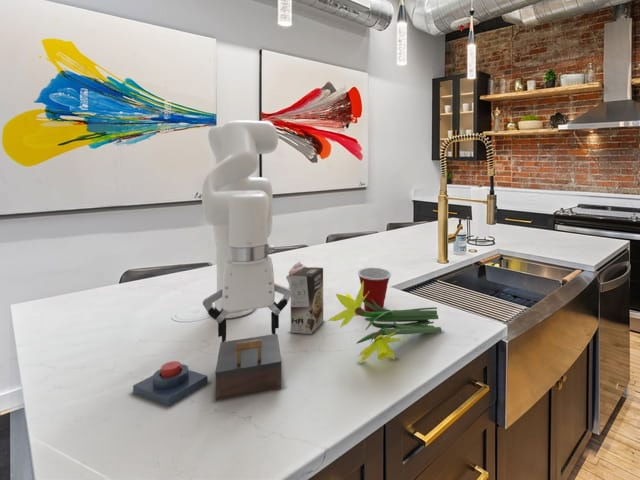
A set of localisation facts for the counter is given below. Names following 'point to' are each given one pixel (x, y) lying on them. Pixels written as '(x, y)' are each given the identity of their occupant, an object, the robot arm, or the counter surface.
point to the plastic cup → (374, 286)
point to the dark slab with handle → (248, 355)
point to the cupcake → (293, 270)
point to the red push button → (170, 369)
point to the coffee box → (306, 300)
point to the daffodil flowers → (384, 315)
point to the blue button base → (170, 386)
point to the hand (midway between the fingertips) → (249, 335)
